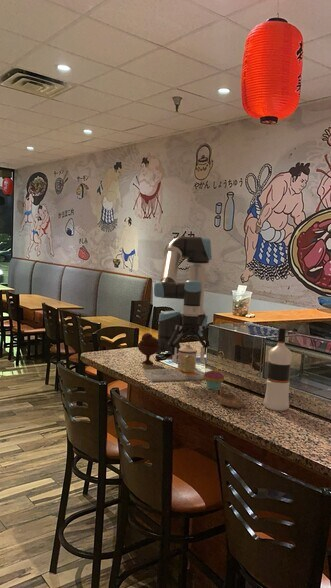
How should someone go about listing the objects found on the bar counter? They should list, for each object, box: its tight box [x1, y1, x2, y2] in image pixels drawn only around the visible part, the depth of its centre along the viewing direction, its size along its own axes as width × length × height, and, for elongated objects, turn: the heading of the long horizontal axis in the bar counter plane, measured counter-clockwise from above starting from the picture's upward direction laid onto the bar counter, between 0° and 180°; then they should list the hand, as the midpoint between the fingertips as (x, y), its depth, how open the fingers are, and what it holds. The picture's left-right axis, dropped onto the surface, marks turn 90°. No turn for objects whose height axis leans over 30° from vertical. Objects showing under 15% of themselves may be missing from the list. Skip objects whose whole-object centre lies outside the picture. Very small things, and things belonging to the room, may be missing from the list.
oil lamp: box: [216, 387, 243, 409], centre depth 173 cm, size 13×8×5 cm, turn 29°
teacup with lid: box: [175, 343, 198, 369], centre depth 225 cm, size 12×9×12 cm
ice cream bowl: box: [137, 332, 160, 366], centre depth 230 cm, size 11×11×15 cm
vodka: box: [263, 327, 293, 412], centre depth 172 cm, size 9×9×30 cm
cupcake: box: [203, 359, 225, 390], centre depth 194 cm, size 9×8×12 cm
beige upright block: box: [181, 355, 195, 374], centre depth 210 cm, size 4×4×9 cm
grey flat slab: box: [142, 367, 205, 382], centre depth 208 cm, size 12×25×2 cm, turn 110°
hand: (188, 361), depth 210 cm, fingers open, 13 cm apart
